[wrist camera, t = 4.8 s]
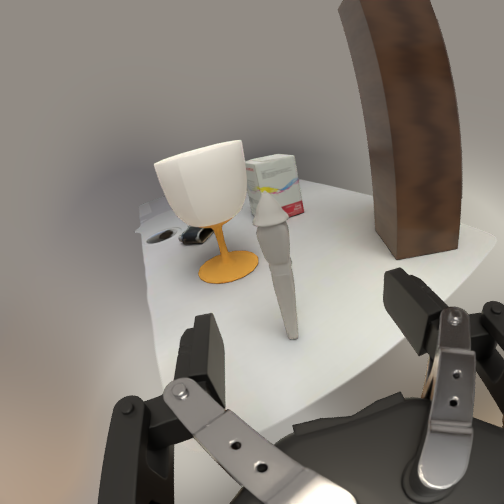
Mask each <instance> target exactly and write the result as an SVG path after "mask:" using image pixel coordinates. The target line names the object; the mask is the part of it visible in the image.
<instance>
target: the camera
mask: <svg viewBox="0 0 504 504" xmlns="http://www.w3.org/2000/svg"><path fill="white" fill-rule="evenodd" d="M213 232H214V230H213V229H212V228H201V227H194V226H190V225H189V226H188V228H187V230H186V231H184V232H183V233H182V235H180V236H179V241H180V242H183V243H184V244H188V243H203V242H205V240H206V239H208V237H209V236H210V235H211V234H212V233H213Z"/></svg>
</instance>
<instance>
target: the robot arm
mask: <svg viewBox="0 0 504 504" xmlns="http://www.w3.org/2000/svg"><path fill="white" fill-rule="evenodd" d="M383 302H384V306H385V309H386V311H387V312H388V314H389V315H390V316H391V318H392V319H393V320H394V322H395V323H396V325H397V326H398V327H399V329H400V330H401V331H402V333H403V334H404V336H405V337H406V339H407V340H408V341H409V343H410V344H411V346H412V347H413V348H414V350H415V351H416V353H417V354H418V356H420V355H423V354H425V353H428V354H429V359H428V364H427V370H426V375H425V382H424V386H423V391H422V395H421V398H415V397H411V398H404V397H403V395H402V394H401V392H398V393H395V394H393V395H391V396H388V397H386V398H383V399H380V400H377V401H375V402H374V403H372V404H371V405H369V406H367V407H366V408H364V409H362V410H361V411H359V412H357V413H356V414H354V415H352V416H347V417H334V418H320V419H316V420H312V421H309V422H304V423H300V424H295V425H293V430H294V432H293V433H291V434H289V435H287V436H285V437H284V438H282V439H280V440H279V441H278V442H276V443H275V444H274V445H273V444H272V443H270V442H269V441H267V440H266V439H265V438H264V437H262V436H261V435H260V434H259V433H258V432H256V431H255V430H254V429H253V428H251V427H250V426H249V425H248V424H247V423H245V422H244V421H243V420H242V419H241V418H239V417H238V416H237V415H236V414H235V413H234V412H232V411H231V410H229V409H227V410H225V351H224V344H223V340H222V337H221V334H220V331H219V329H218V326H217V323H216V321H215V318H214V315H213V314H212V313H209V314H204V315H199V316H196V317H195V322H194V328H190V329H186V331H185V332H184V334H183V335H182V337H181V340H180V348H179V351H178V354H179V355H178V357H177V363H176V370H175V376H174V381H172V382H170V383H169V384H168V385H167V386H166V388H165V389H164V392H163V394H162V395H161V396H159V397H156V398H153V399H150V400H147V401H144V402H143V400H142V399H141V398H139V397H138V396H126V397H124V398H122V399H121V400H119V401H118V402H117V403H116V405H115V407H114V409H113V413H112V418H111V422H110V427H109V432H108V437H107V443H106V448H105V454H104V460H103V466H102V473H101V480H100V488H99V496H98V504H174V444H177V443H180V442H183V441H186V440H188V439H191V438H194V439H195V440H196V441H197V442H198V443H199V444H200V445H201V446H202V447H203V449H204V450H205V451H206V452H207V453H208V454H209V455H210V456H211V457H212V458H213V459H214V460H215V461H216V462H217V463H218V464H219V465H220V466H221V467H222V468H223V469H224V470H225V471H226V472H227V473H228V474H229V475H230V476H231V477H232V478H233V479H234V480H235V481H236V482H237V483H238V484H239V485H241V486H242V488H241V489H240V491H239V492H238V494H237V495H236V496H235V497H234V499H233V500H232V501H231V502H230V504H504V359H503V358H502V356H501V355H500V354H499V352H498V351H497V350H496V346H497V344H499V346H500V347H501V348H502V349H503V350H504V305H503V304H501V303H500V302H496V301H490V302H487V303H486V304H485V305H484V306H483V310H482V313H475V314H468V313H467V312H466V311H465V310H463V309H461V308H459V307H448V306H447V305H446V304H445V303H444V302H443V301H442V300H441V299H440V298H439V297H438V296H437V295H436V294H435V293H434V292H433V291H432V290H431V289H430V288H429V287H428V286H427V285H426V284H425V283H424V282H423V281H422V280H421V279H420V278H417V277H415V276H413V275H408V274H407V273H406V272H405V271H404V270H403V269H402V268H396V269H393V270H389V271H386V272H385V274H384V292H383ZM476 372H477V373H478V375H479V376H480V378H481V379H482V381H483V382H484V384H485V386H486V387H487V389H488V390H489V392H490V394H491V395H492V397H493V398H494V400H495V402H496V403H497V405H498V407H499V409H500V410H501V412H502V414H503V419H502V420H503V421H502V422H503V426H502V428H501V427H498V426H495V425H492V424H490V423H487V422H484V421H482V420H479V419H476V418H473V406H474V395H475V375H476V374H475V373H476Z"/></svg>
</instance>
